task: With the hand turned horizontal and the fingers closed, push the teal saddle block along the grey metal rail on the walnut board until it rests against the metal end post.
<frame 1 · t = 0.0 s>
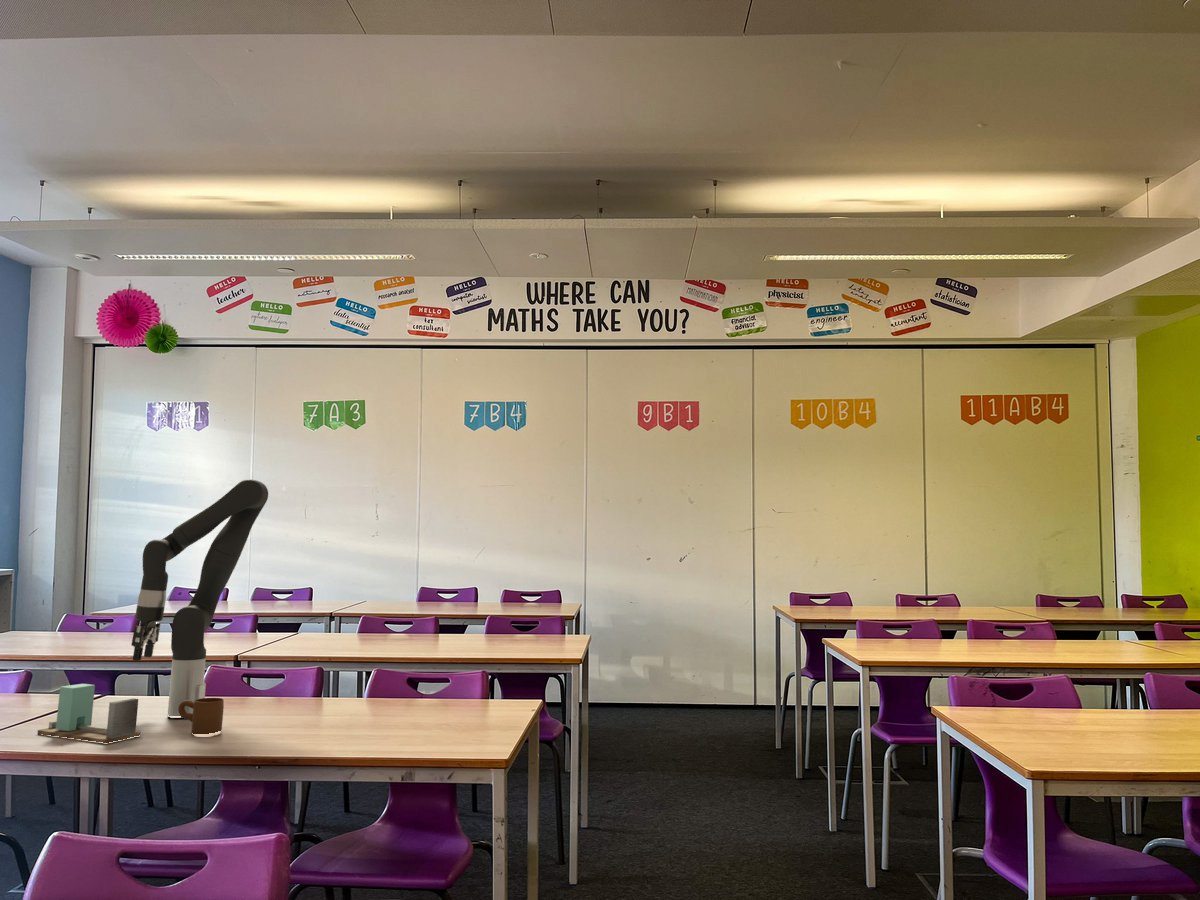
hand: (142, 658, 251), 17 cm above the table, tool pointing down, fingers open, 8 cm apart
board: (88, 735, 223), on the table
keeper: (75, 706, 226), point 7 cm above the table, slide at -6.0 cm
mug: (198, 735, 227), on the table
rail: (90, 714, 224), on the board, point 6 cm above the table
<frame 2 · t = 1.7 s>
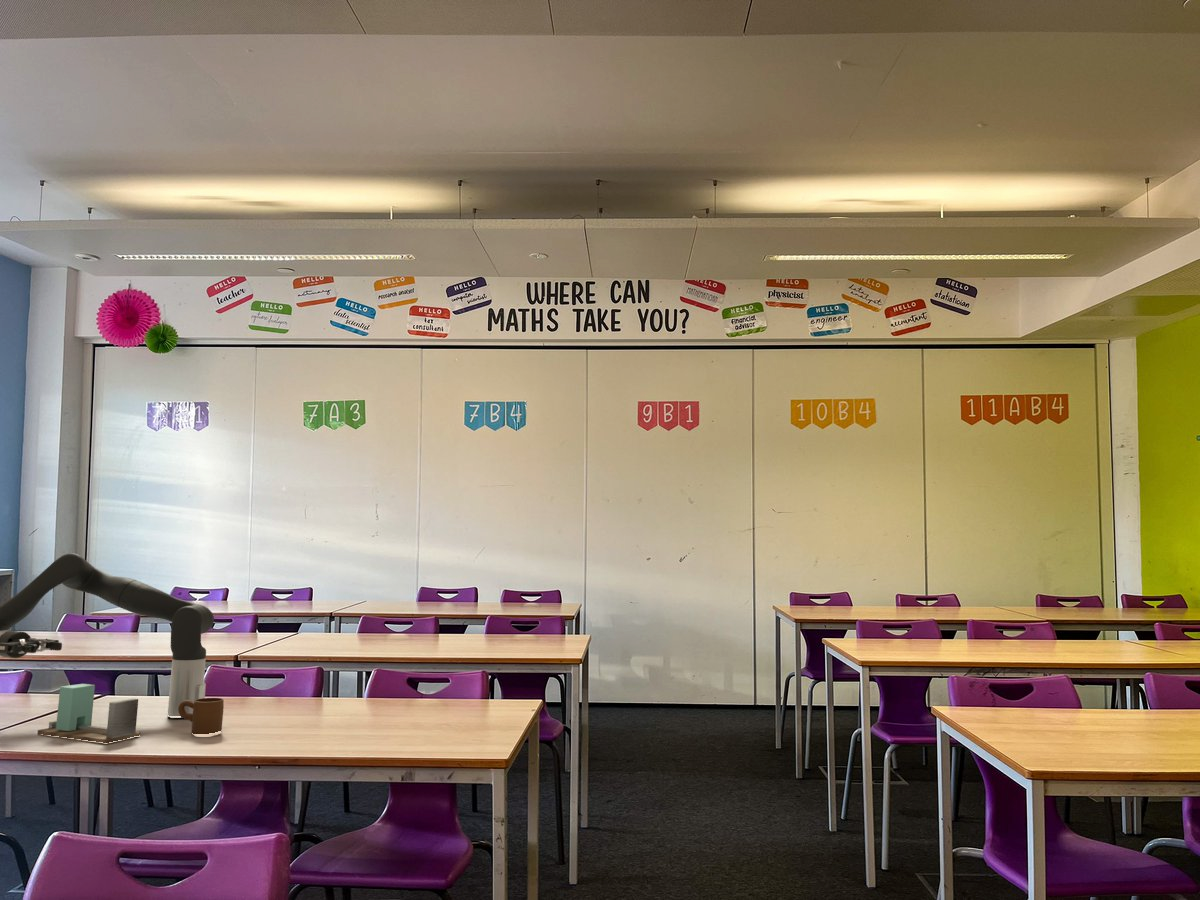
hand: (48, 647, 233), 22 cm above the table, tool horizontal, fingers open, 6 cm apart
nothing on the table moved.
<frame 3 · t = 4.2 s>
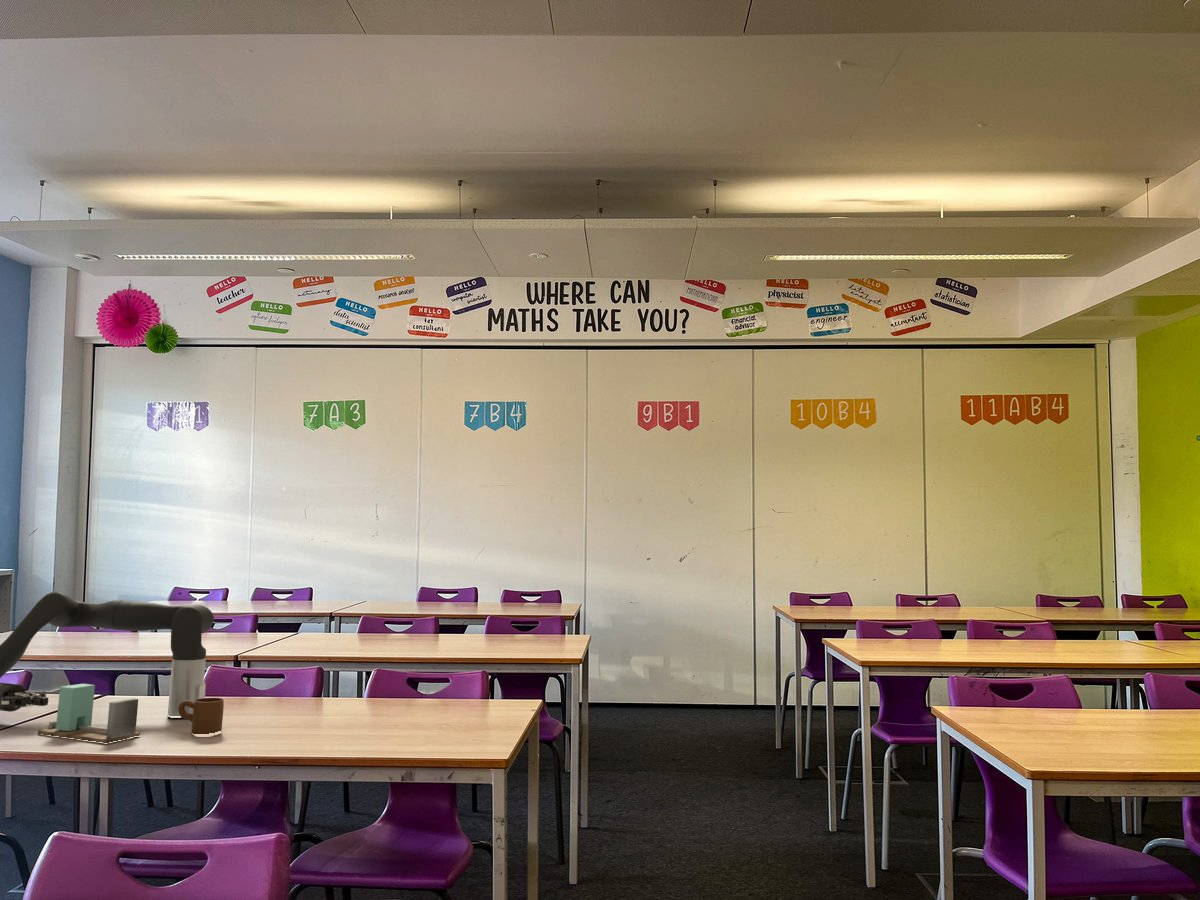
hand: (45, 701, 231), 7 cm above the table, tool horizontal, fingers closed
nothing on the table moved.
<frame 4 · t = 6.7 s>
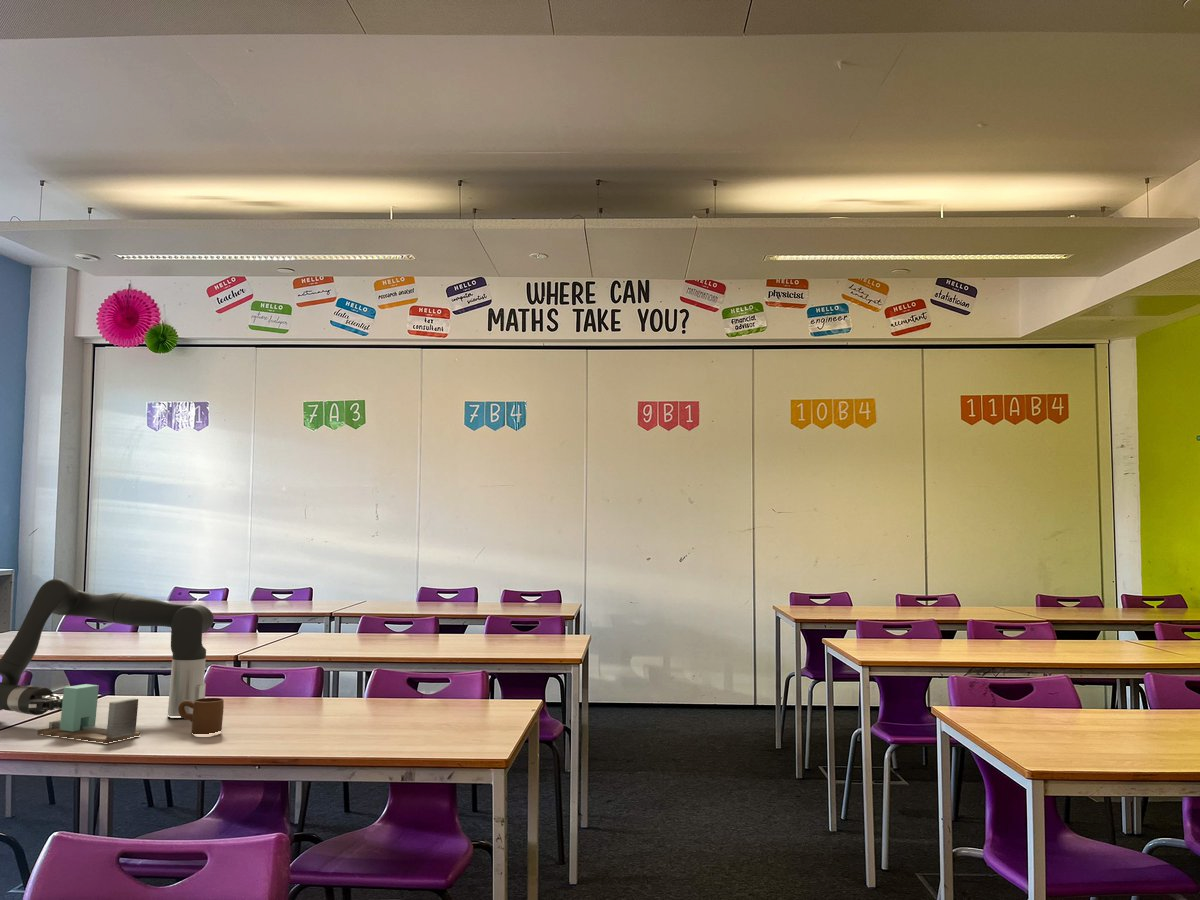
hand: (73, 705, 227), 7 cm above the table, tool horizontal, fingers closed
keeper: (79, 707, 226), point 7 cm above the table, slide at -4.5 cm, touching gripper
everything else where it was.
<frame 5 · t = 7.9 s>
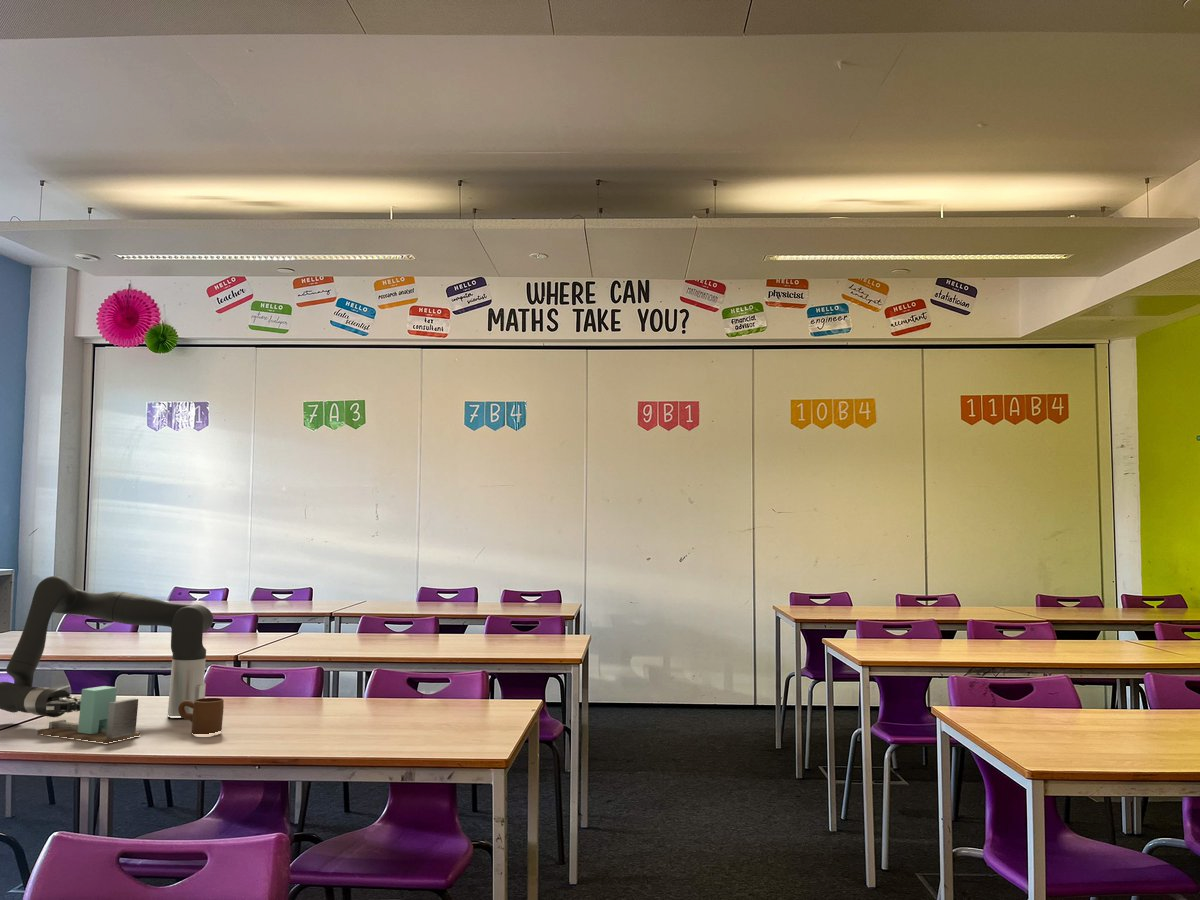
hand: (91, 707, 224), 7 cm above the table, tool horizontal, fingers closed
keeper: (97, 709, 223), point 7 cm above the table, slide at 2.5 cm, touching gripper
everything else where it was.
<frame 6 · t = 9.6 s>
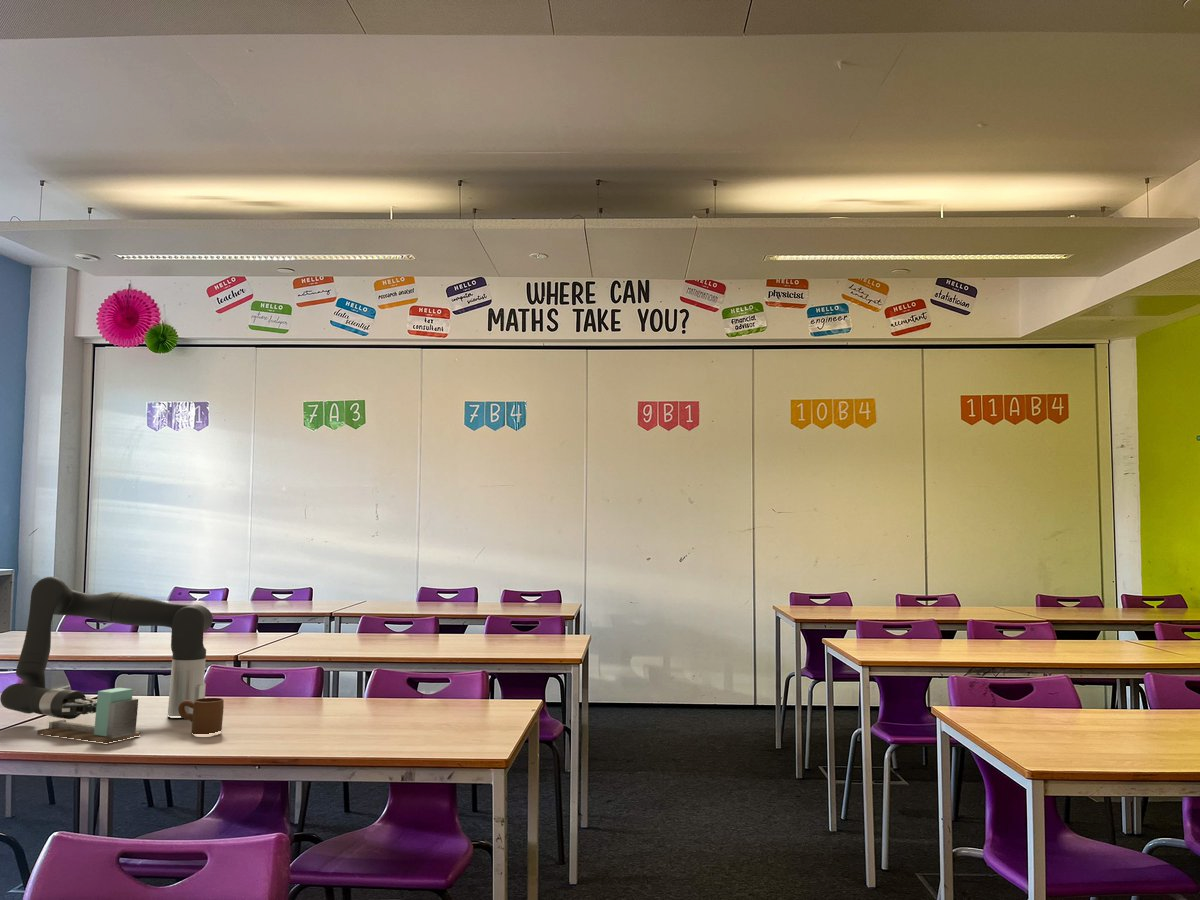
hand: (107, 709, 222), 7 cm above the table, tool horizontal, fingers closed
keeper: (113, 711, 221), point 7 cm above the table, slide at 8.5 cm, touching gripper, rail
everything else where it was.
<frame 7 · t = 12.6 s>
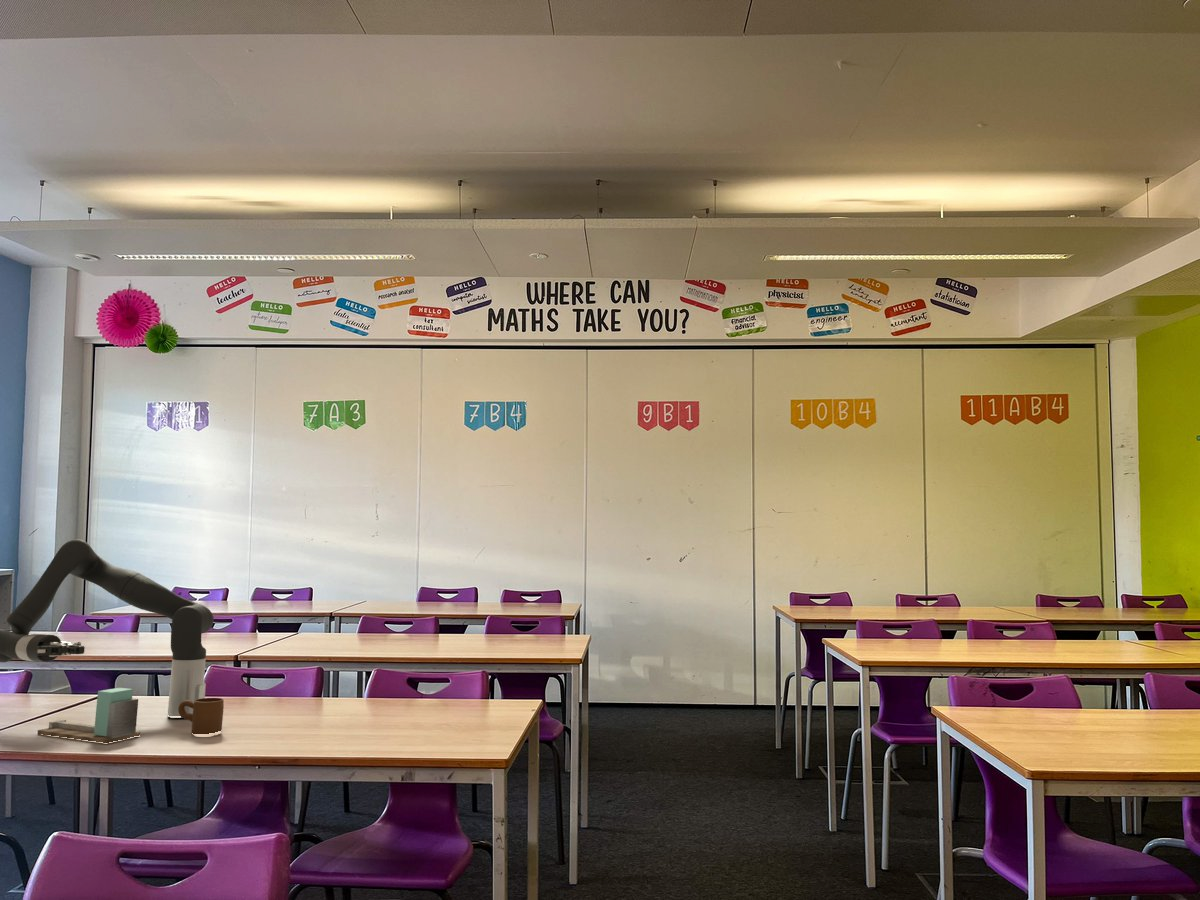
hand: (81, 650, 228), 22 cm above the table, tool horizontal, fingers closed
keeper: (113, 711, 221), point 7 cm above the table, slide at 8.5 cm, touching rail
everything else where it was.
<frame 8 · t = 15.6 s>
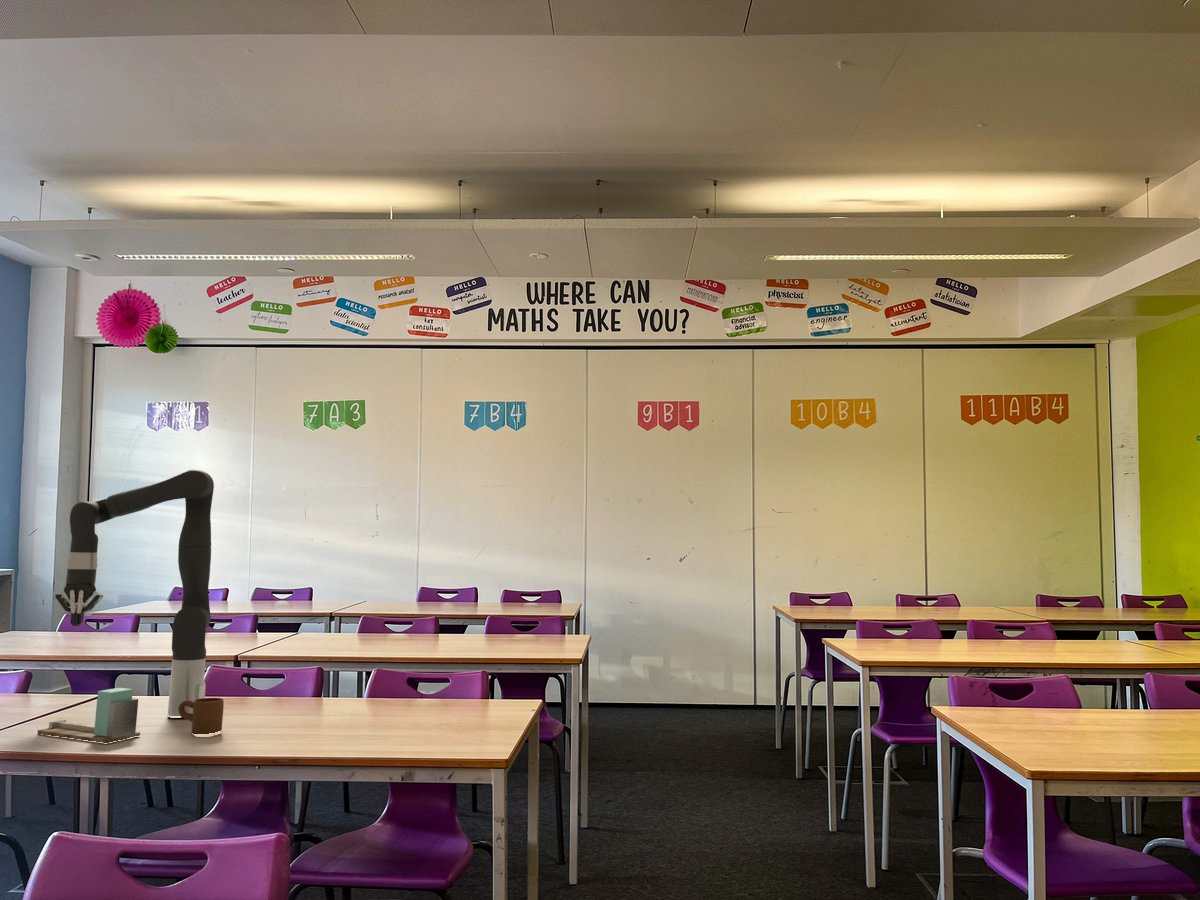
hand: (76, 625, 248), 27 cm above the table, tool pointing down, fingers closed
nothing on the table moved.
at the end: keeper slide at 8.5 cm; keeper moved 14.5 cm from its start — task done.
